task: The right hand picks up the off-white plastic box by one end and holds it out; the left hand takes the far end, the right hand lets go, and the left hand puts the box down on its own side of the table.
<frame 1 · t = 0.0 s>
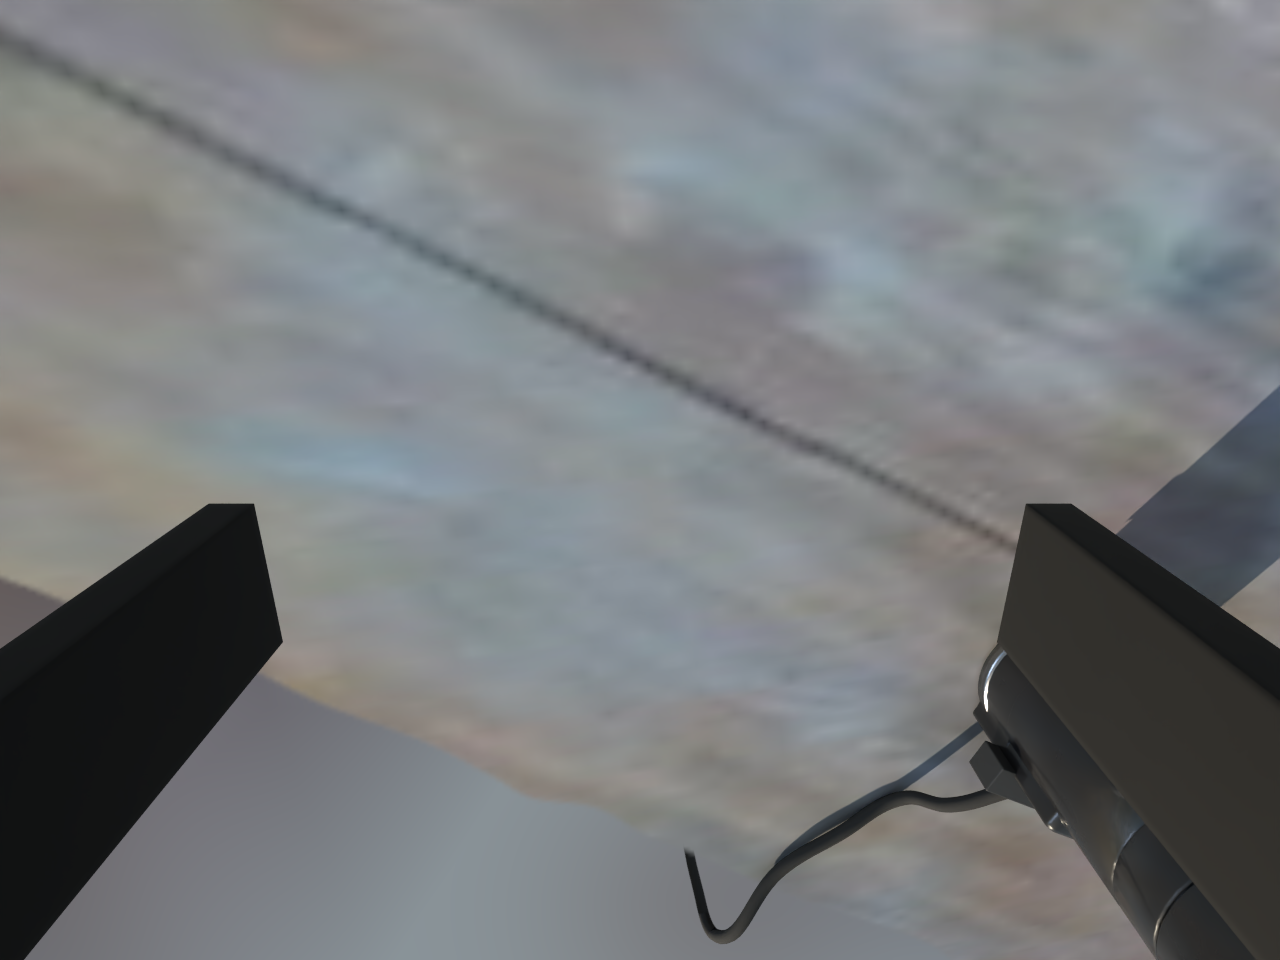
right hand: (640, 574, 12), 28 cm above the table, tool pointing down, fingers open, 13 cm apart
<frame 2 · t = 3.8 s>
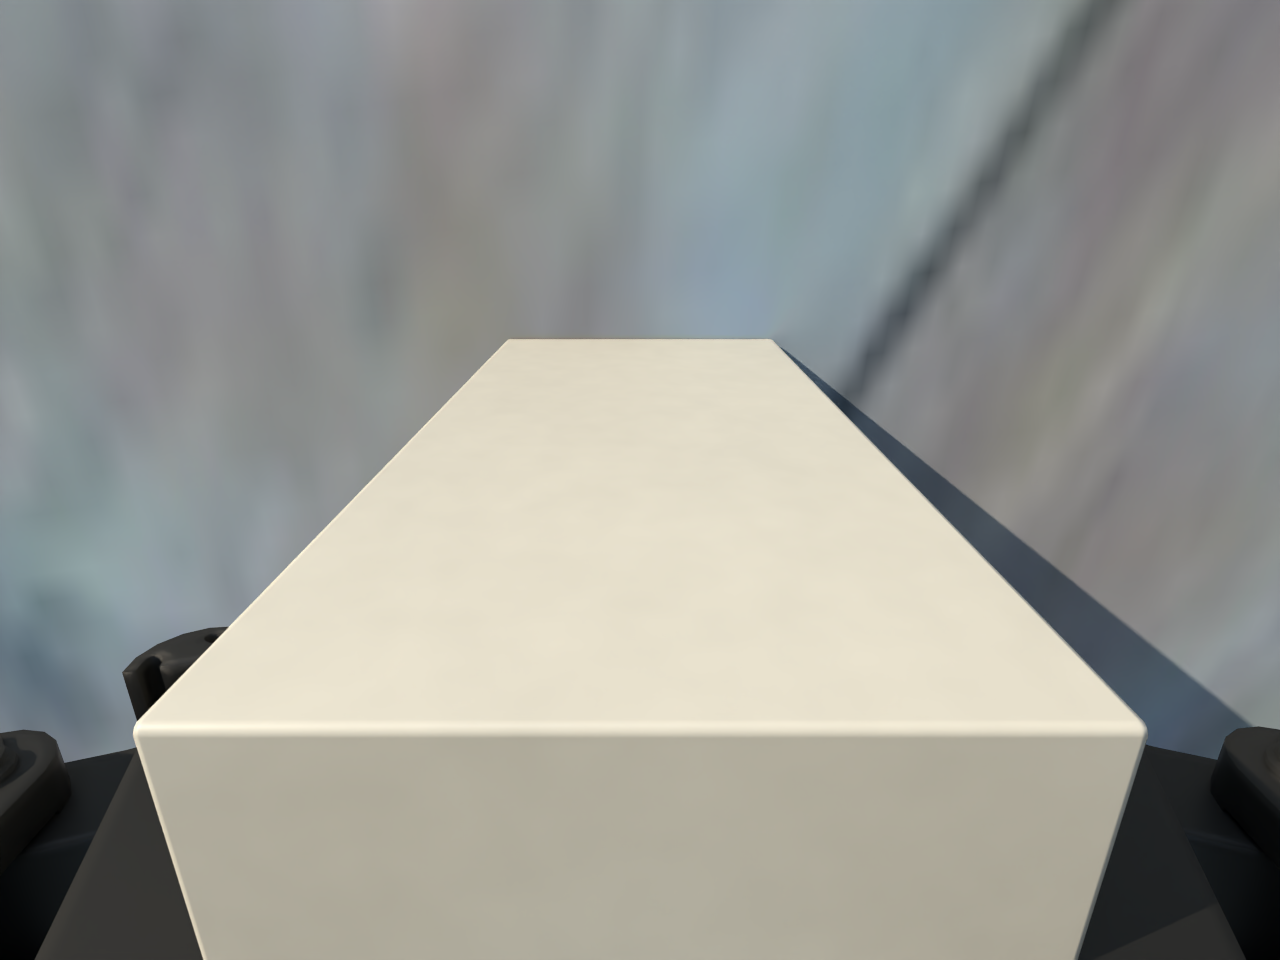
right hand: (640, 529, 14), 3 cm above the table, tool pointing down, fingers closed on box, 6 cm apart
box: (640, 803, 21), on the table, touching right hand
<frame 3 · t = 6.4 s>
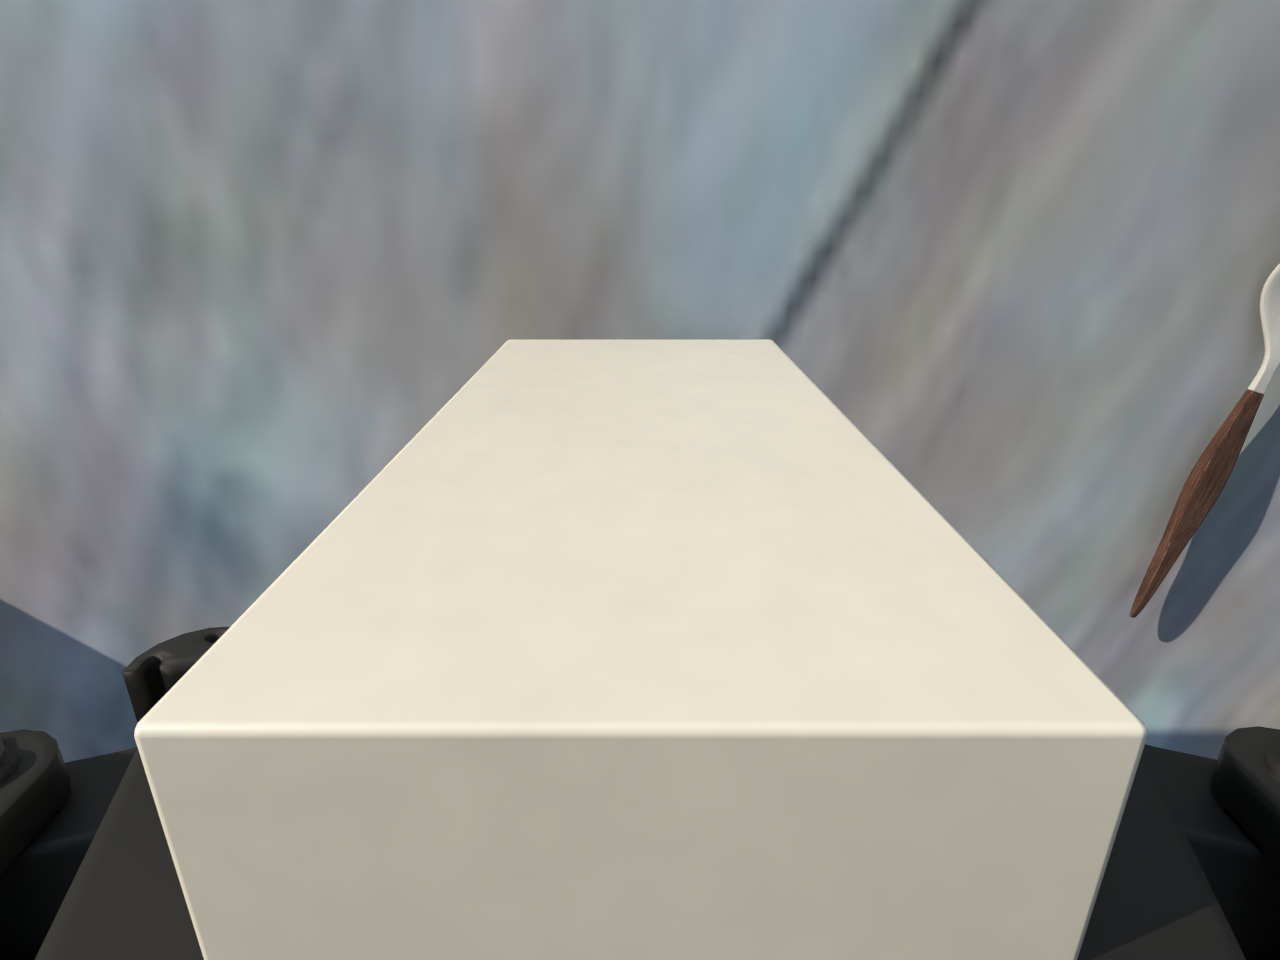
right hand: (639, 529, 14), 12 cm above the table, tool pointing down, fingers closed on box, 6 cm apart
box: (640, 803, 21), point 9 cm above the table, touching right hand
fork: (1223, 417, 26), on the table
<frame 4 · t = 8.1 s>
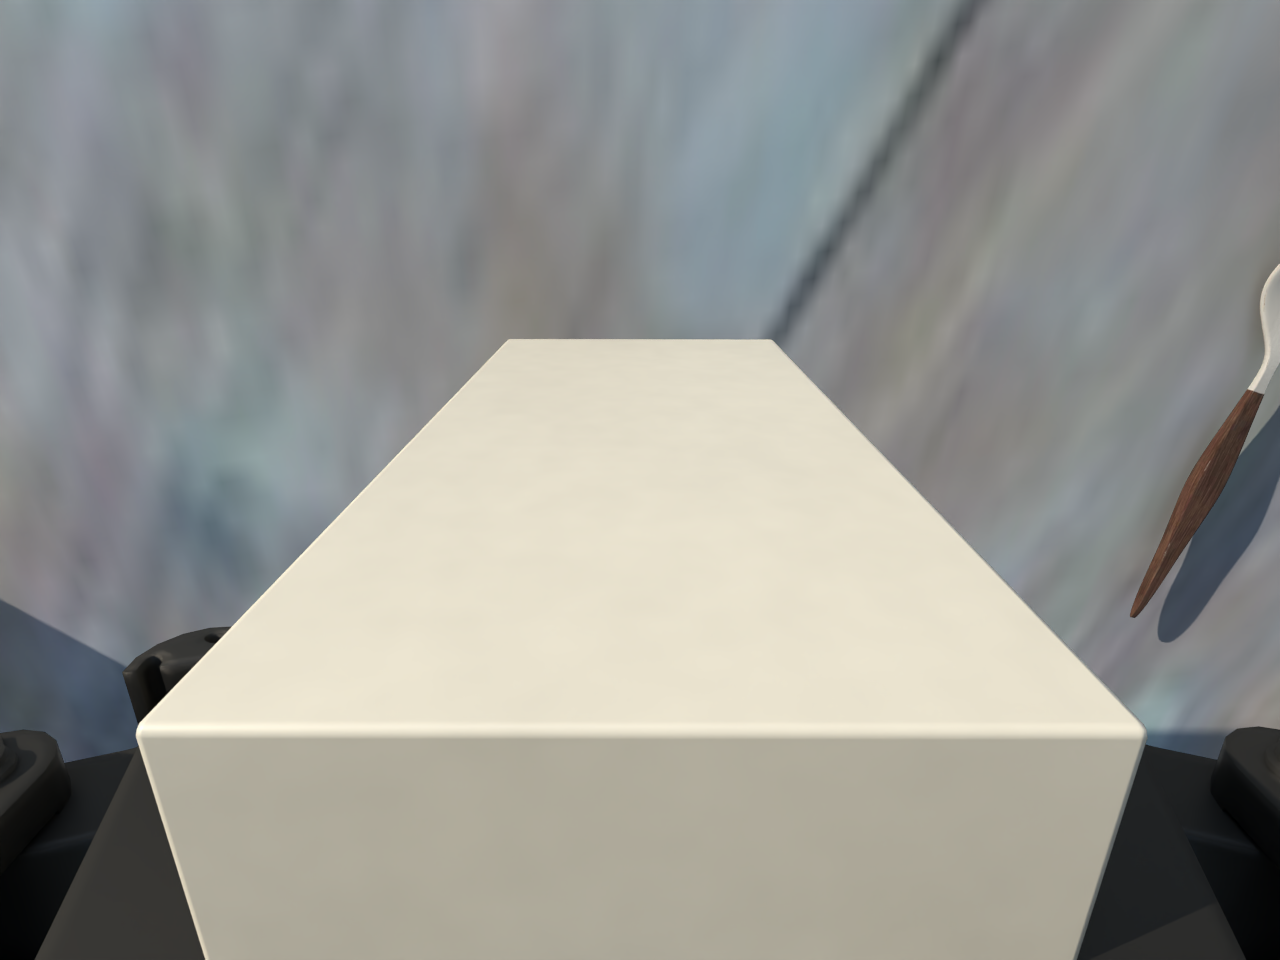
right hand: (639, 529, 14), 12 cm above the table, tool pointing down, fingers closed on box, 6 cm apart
box: (639, 802, 21), point 9 cm above the table, touching right hand, left hand
fork: (1223, 417, 26), on the table
when the right hand's fingers open (12 cm above the table, at t = 9.0 s): box stays where it is, held by the left hand.
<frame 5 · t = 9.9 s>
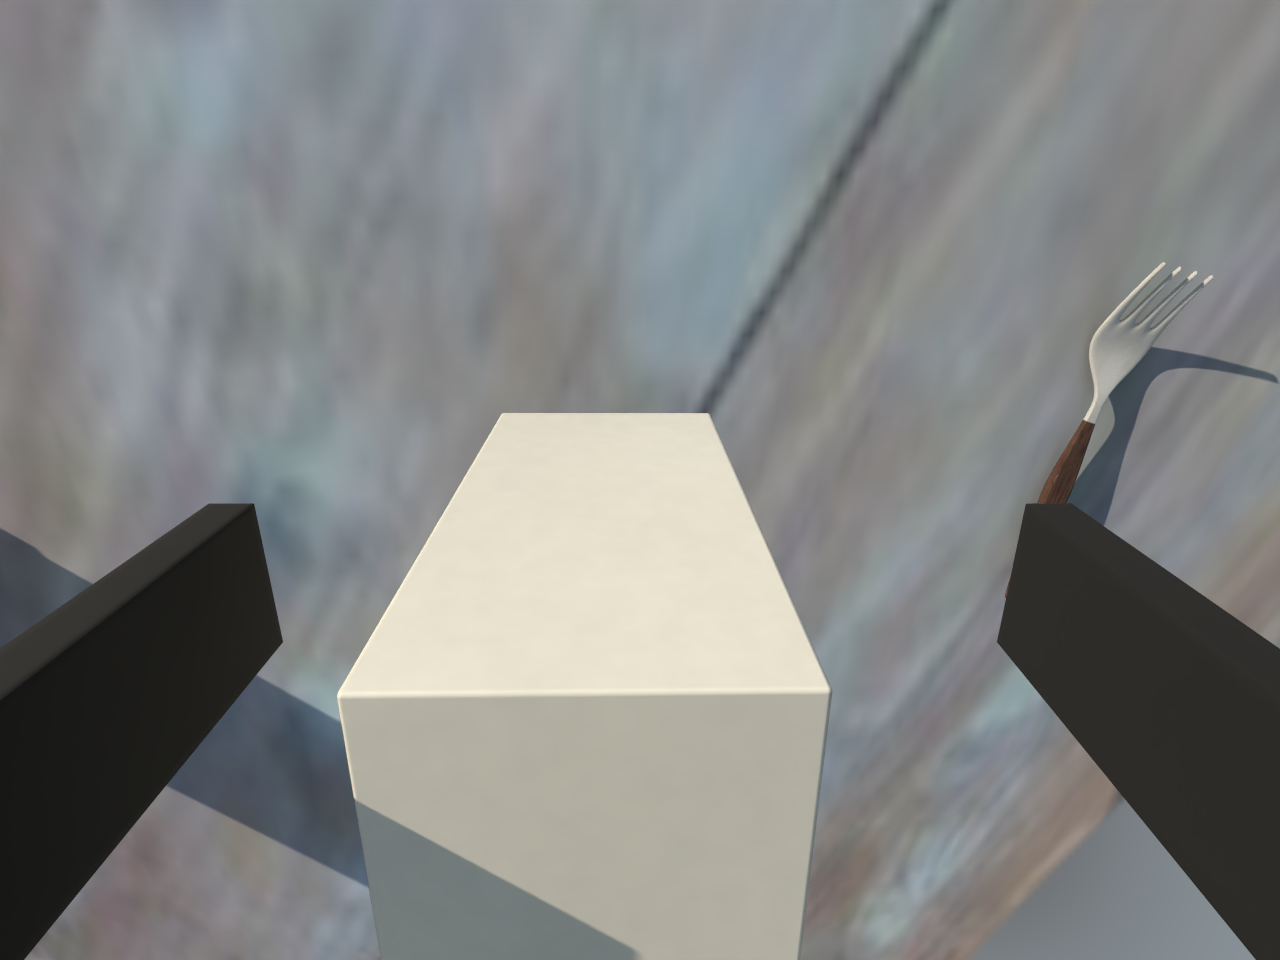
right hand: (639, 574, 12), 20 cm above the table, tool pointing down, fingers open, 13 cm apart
box: (609, 784, 25), point 11 cm above the table, touching left hand
fork: (1069, 440, 33), on the table
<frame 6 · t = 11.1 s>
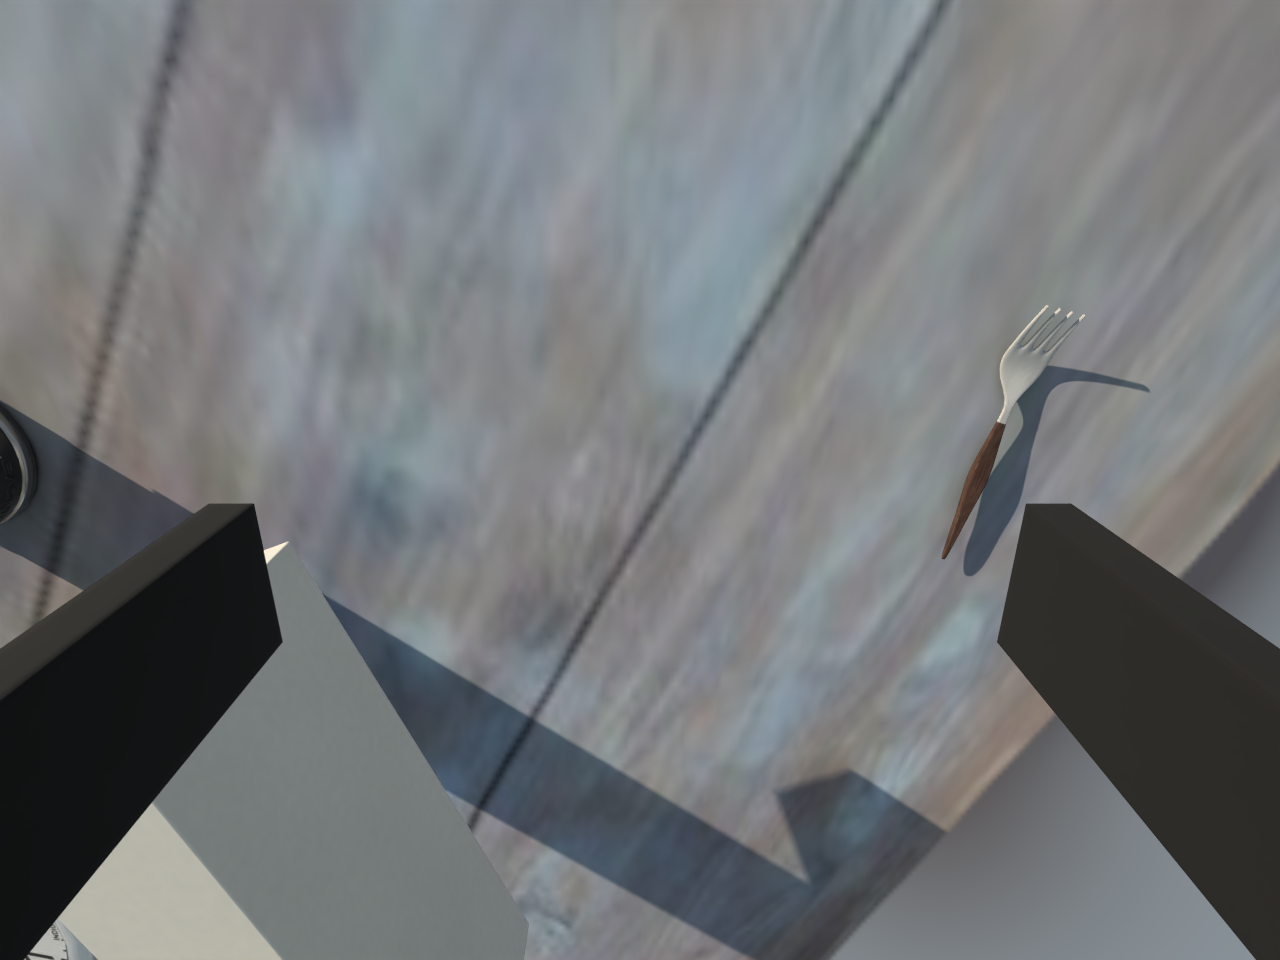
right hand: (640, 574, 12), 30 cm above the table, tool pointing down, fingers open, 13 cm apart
box: (373, 771, 38), point 11 cm above the table, touching left hand
fork: (988, 437, 43), on the table
when the left hand's fingers open (10 cm above the table, at t = 14.3 s): box drops 2 cm, on the table.
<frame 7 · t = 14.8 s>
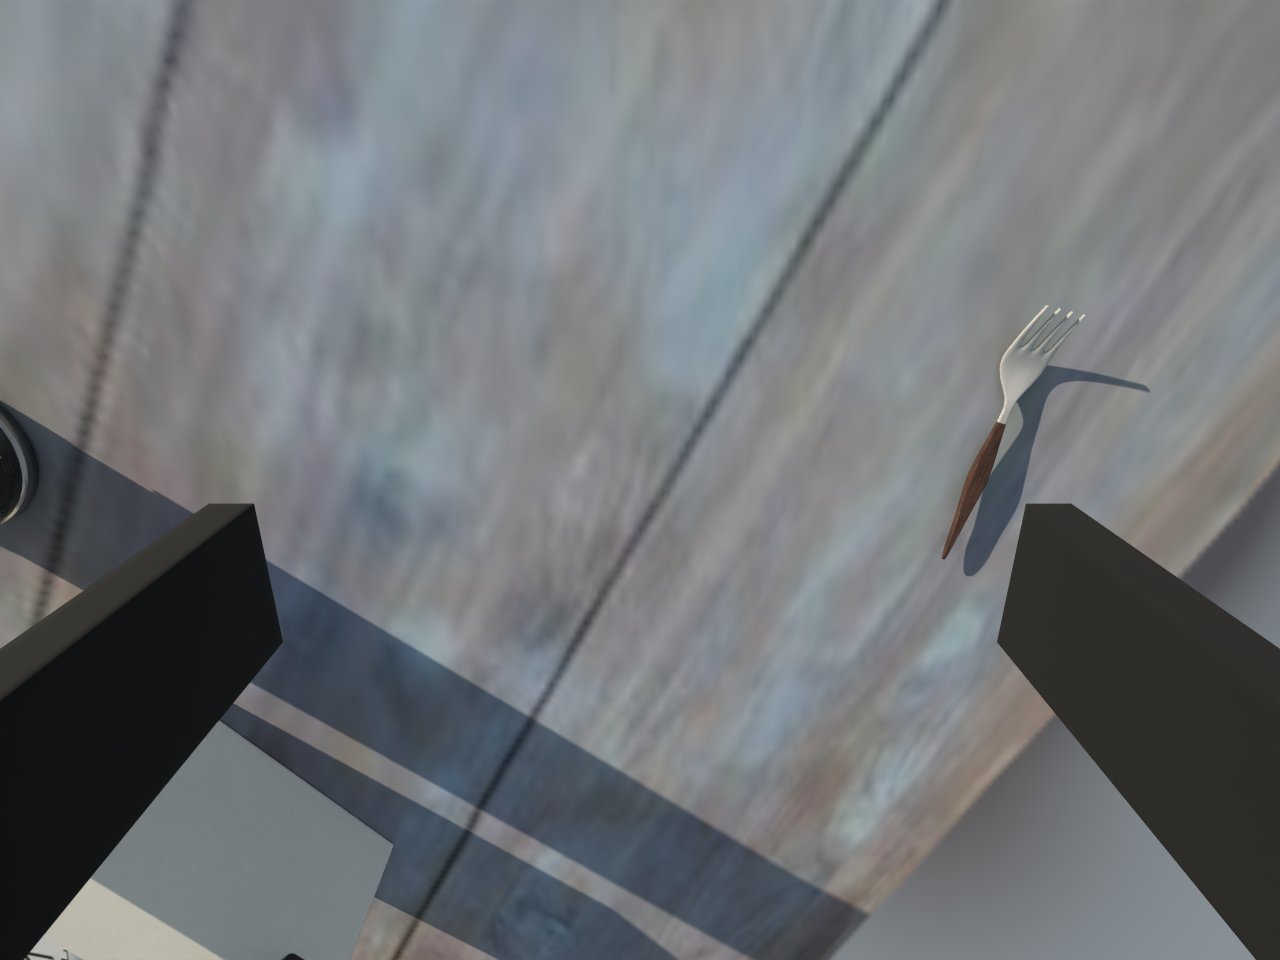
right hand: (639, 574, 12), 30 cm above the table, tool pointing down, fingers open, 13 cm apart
box: (225, 763, 52), on the table
fork: (988, 437, 43), on the table
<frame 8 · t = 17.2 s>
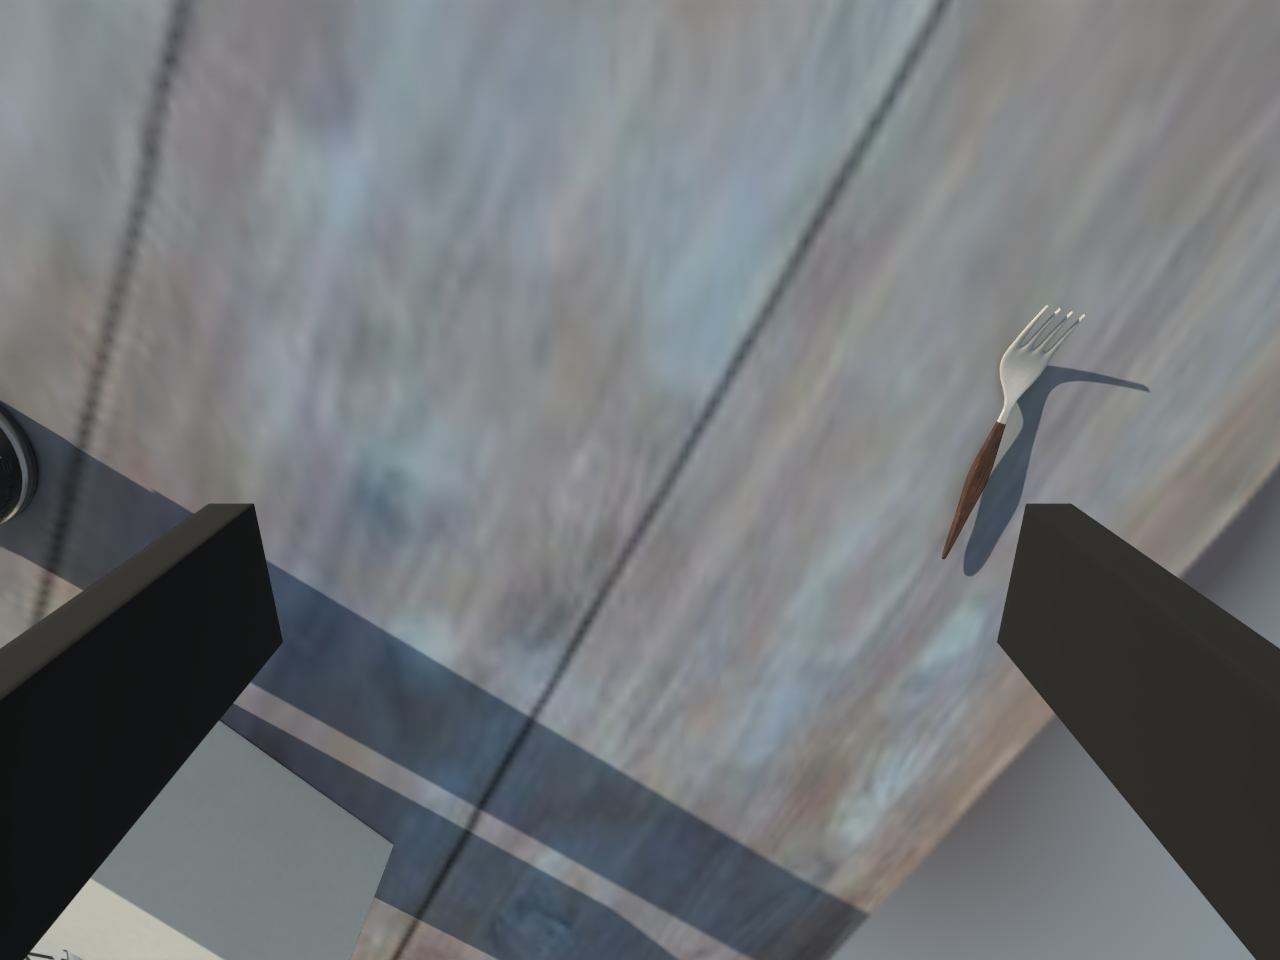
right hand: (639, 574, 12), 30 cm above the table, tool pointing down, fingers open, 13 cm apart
box: (225, 763, 52), on the table
fork: (988, 437, 43), on the table
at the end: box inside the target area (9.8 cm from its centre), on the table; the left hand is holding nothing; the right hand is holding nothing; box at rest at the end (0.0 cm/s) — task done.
